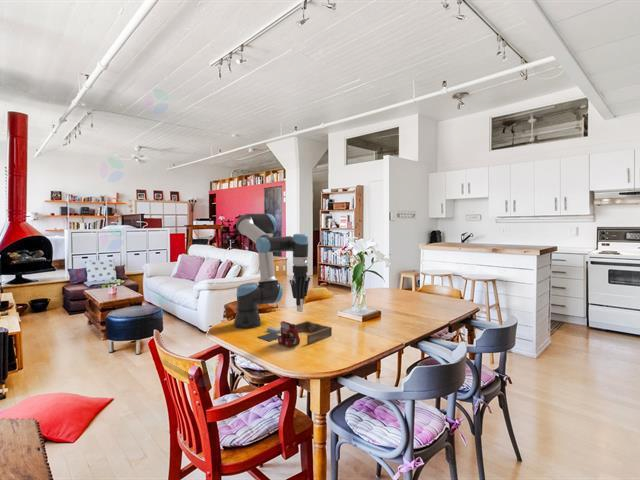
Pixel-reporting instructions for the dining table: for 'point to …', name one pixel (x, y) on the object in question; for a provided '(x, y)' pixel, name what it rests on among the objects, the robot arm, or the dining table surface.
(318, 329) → the walnut cubby
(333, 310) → the dining table surface
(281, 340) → the toy fire truck
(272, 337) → the black hole patch
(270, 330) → the slate-blue stick
